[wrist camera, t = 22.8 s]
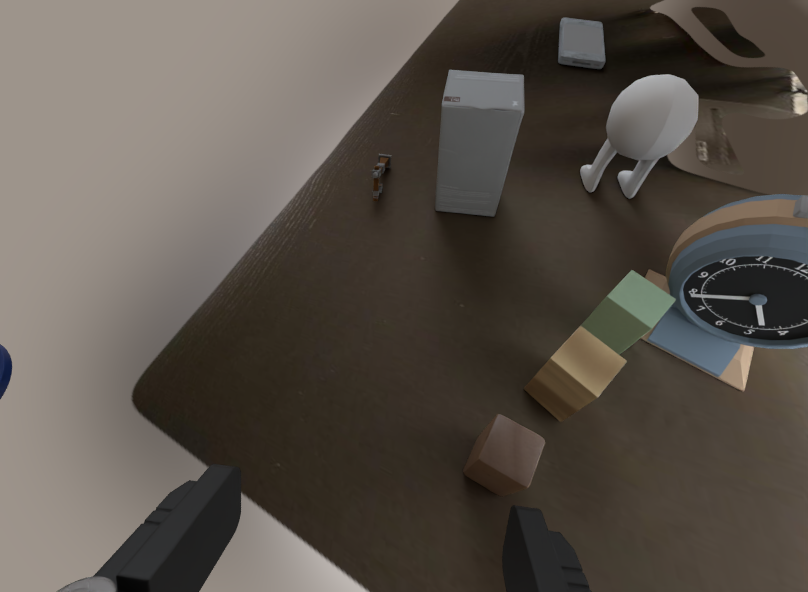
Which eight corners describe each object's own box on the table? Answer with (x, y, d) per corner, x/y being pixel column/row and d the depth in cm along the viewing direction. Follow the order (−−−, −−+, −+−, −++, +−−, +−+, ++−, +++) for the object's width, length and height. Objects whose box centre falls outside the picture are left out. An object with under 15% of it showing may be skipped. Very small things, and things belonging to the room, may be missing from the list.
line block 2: (608, 363, 40) (652, 329, 33) (572, 334, 42) (606, 296, 35) (631, 337, 42) (676, 299, 35) (595, 310, 43) (632, 269, 37)
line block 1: (560, 422, 37) (597, 397, 30) (523, 388, 38) (550, 358, 32) (586, 391, 38) (627, 360, 32) (549, 360, 40) (580, 325, 33)
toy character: (638, 170, 56) (710, 63, 43) (645, 215, 51) (727, 110, 38) (574, 161, 57) (626, 53, 44) (576, 204, 52) (634, 98, 39)
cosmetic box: (496, 186, 54) (529, 70, 40) (494, 223, 50) (530, 110, 37) (436, 178, 54) (449, 61, 41) (430, 215, 51) (441, 100, 37)
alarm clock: (613, 324, 42) (732, 210, 27) (639, 266, 47) (754, 140, 32) (753, 397, 38) (983, 310, 23) (768, 326, 43) (970, 213, 28)
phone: (557, 63, 71) (559, 56, 70) (559, 24, 79) (561, 16, 78) (602, 69, 70) (606, 62, 69) (599, 29, 78) (602, 21, 77)
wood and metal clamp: (367, 202, 50) (367, 168, 48) (377, 183, 57) (378, 152, 54) (380, 204, 50) (382, 169, 48) (389, 185, 57) (391, 153, 54)
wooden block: (460, 473, 34) (476, 459, 27) (478, 433, 36) (497, 410, 29) (502, 498, 33) (529, 490, 26) (519, 456, 35) (548, 438, 28)
